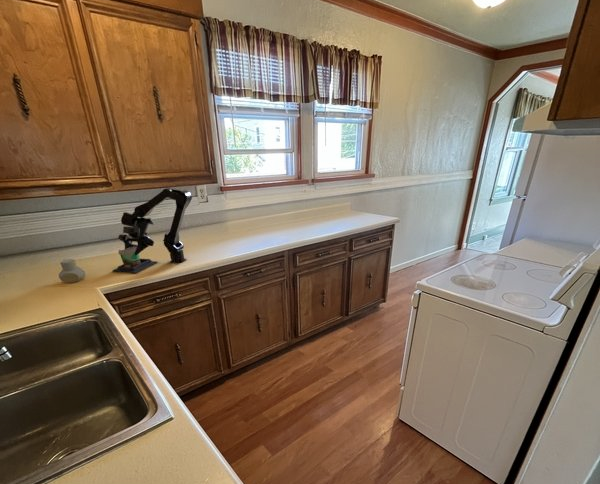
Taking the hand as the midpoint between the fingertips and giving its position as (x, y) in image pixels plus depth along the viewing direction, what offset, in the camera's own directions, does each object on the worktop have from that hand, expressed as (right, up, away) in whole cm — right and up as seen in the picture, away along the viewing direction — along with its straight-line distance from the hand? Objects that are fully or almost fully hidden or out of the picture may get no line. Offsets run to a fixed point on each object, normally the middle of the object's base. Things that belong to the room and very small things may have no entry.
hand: (130, 254), depth 170 cm
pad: (0, -6, +5) cm, 8 cm away
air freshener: (-21, -16, -12) cm, 29 cm away
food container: (+1, -5, +4) cm, 7 cm away
